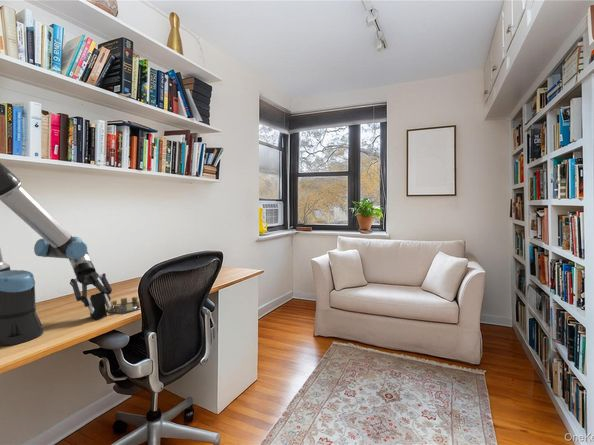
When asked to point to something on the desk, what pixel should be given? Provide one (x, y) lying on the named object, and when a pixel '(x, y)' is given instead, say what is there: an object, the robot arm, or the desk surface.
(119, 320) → the desk surface
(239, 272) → the desk surface
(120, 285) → the desk surface
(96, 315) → the speaker
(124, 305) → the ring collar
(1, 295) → the robot arm
